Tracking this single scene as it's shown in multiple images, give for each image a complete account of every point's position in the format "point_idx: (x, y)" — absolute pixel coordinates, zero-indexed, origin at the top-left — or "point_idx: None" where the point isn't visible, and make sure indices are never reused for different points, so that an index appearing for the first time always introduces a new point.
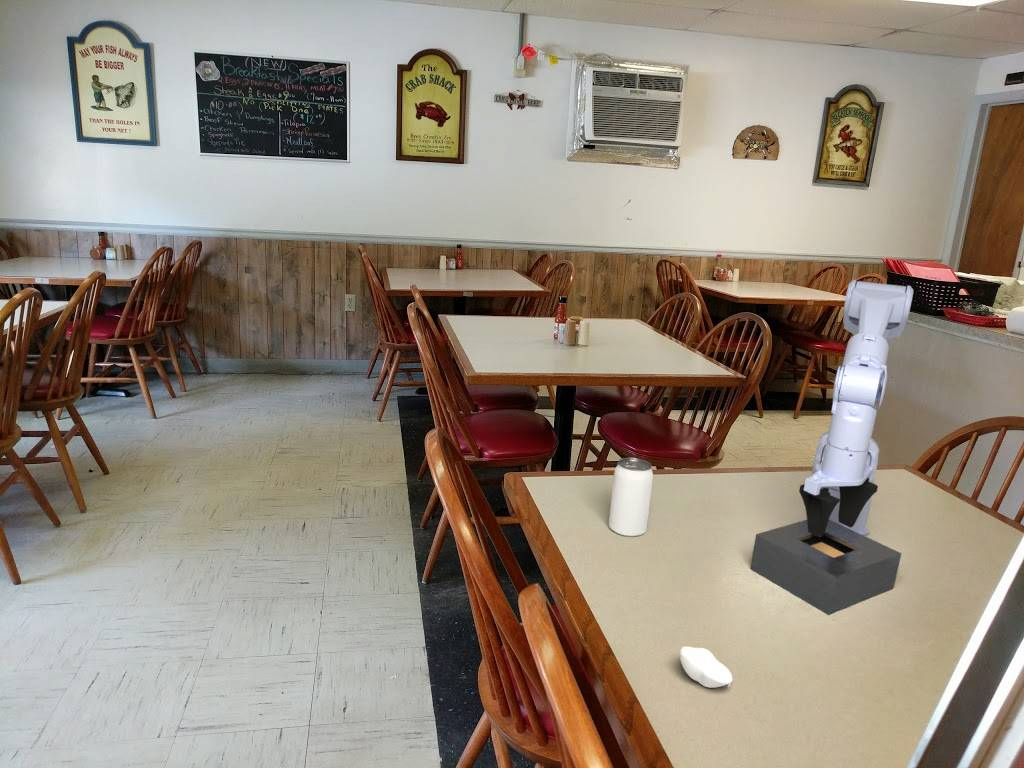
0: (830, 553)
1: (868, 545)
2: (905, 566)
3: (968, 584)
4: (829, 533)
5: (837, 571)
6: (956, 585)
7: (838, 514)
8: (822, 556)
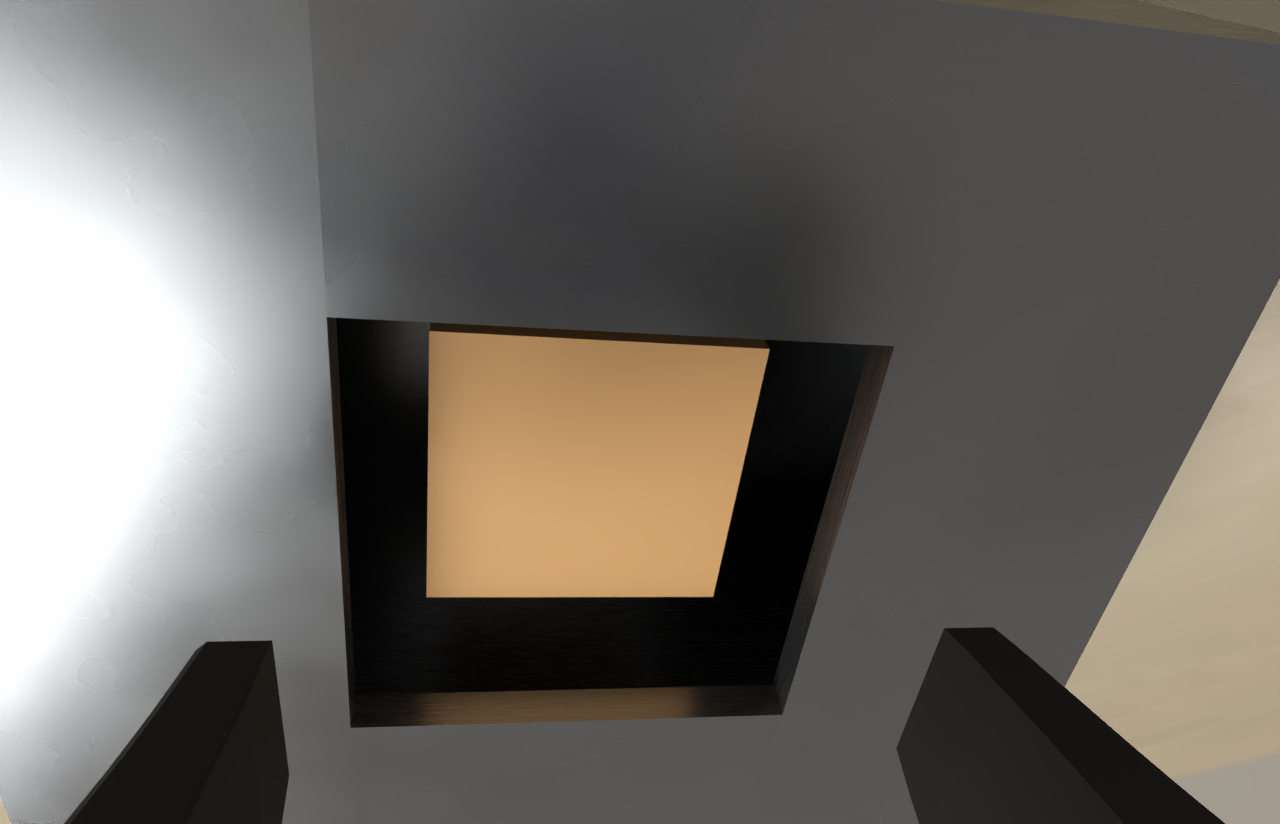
0: (596, 524)
1: None
2: (1241, 512)
3: (1229, 726)
4: (879, 428)
5: None
6: (1176, 712)
7: (1005, 692)
8: None
